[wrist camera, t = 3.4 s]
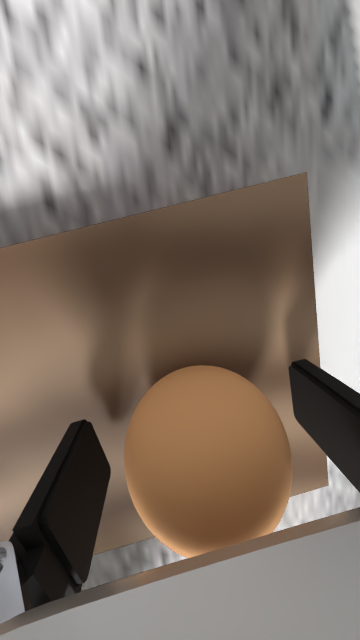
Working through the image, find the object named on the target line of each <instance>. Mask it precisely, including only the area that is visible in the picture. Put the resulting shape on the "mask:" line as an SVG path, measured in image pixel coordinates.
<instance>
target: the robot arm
mask: <svg viewBox="0 0 360 640" xmlns="http://www.w3.org/2000/svg"><path fill="white" fill-rule="evenodd" d="M288 370H289V378H290V387H291V395H292V404H293V413H294V416H295V419H296V420H297V422H298V423H299V424H300V425H301V426H302V428H303V429H304V430H305V431H306V432H307V433H308V434H309V435H310V437H311V438H312V439H313V440H314V441H315V442H316V443H317V445H318V446H319V447H320V448H321V449H322V450H323V451H324V453H325V454H326V455H327V456H328V457H329V458H330V459H331V460H332V462H333V463H334V464H335V465H336V466H337V467H338V468H339V470H340V471H341V472H342V473H343V474H344V475H345V476H346V477H347V479H348V480H349V481H350V482H351V483H352V484H353V485H354V487H355V488H356V489H357V490H358V491H359V492H360V394H359V393H358V392H356V391H355V390H353V389H352V388H350V387H348V386H347V385H345V384H344V383H342V382H341V381H339V380H338V379H336V378H335V377H333V376H331V375H330V374H328V373H327V372H325V371H324V370H322V369H321V368H319V367H318V366H316V365H314V364H313V363H311V362H310V361H308V360H307V359H301V360H297V361H294V362H292V363H291V366H289V368H288ZM110 476H111V468H110V464H109V462H108V460H107V458H106V455H105V453H104V451H103V448H102V446H101V444H100V442H99V439H98V437H97V435H96V432H95V430H94V428H93V425H92V423H91V422H87V420H85V419H83V420H80V421H76V422H73V423H71V424H70V425H69V427H68V429H67V431H66V433H65V434H64V436H63V438H62V440H61V442H60V443H59V445H58V447H57V449H56V451H55V453H54V454H53V456H52V458H51V460H50V462H49V464H48V465H47V467H46V469H45V471H44V473H43V474H42V476H41V478H40V480H39V482H38V484H37V485H36V487H35V489H34V491H33V493H32V495H31V496H30V498H29V500H28V502H27V504H26V506H25V507H24V509H23V511H22V513H21V515H20V516H19V518H18V520H17V522H16V524H15V526H14V527H13V529H12V531H13V534H12V536H11V537H10V539H9V541H1V542H0V640H360V508H356V509H352V510H349V511H345V512H342V513H338V514H335V515H332V516H328V517H325V518H321V519H318V520H315V521H311V522H308V523H304V524H301V525H298V526H294V527H291V528H287V529H284V530H281V531H277V532H274V533H270V534H267V535H264V536H260V537H257V538H254V539H250V540H247V541H244V542H240V543H237V544H234V545H230V546H227V547H224V548H220V549H217V550H214V551H211V552H207V553H204V554H201V555H197V556H194V557H191V558H187V559H184V560H181V561H178V562H174V563H171V564H168V565H165V566H161V567H158V568H155V569H152V570H148V571H145V572H142V573H139V574H135V575H132V576H129V577H126V578H122V579H119V580H116V581H113V582H109V583H106V584H103V585H100V586H97V587H94V588H91V589H88V590H85V591H82V592H80V591H81V587H82V583H85V581H86V580H87V577H88V574H89V569H90V565H91V560H92V556H93V552H94V547H95V543H96V538H97V534H98V529H99V525H100V520H101V516H102V511H103V507H104V502H105V498H106V494H107V489H108V485H109V480H110Z"/></svg>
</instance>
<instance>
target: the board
mask: <svg viewBox="0 0 360 640" xmlns="http://www.w3.org/2000/svg"><path fill="white" fill-rule="evenodd" d="M301 359H307V360H308V361H310V362H311V363H313V364H314V365H316V366H318V367H319V368H320V357H319V343H318V328H317V314H316V300H315V285H314V271H313V257H312V243H311V228H310V214H309V200H308V185H307V172H306V173H302V174H298V175H294V176H290V177H285V178H281V179H277V180H273V181H269V182H265V183H261V184H257V185H253V186H249V187H245V188H241V189H237V190H233V191H229V192H225V193H221V194H217V195H213V196H209V197H205V198H201V199H196V200H192V201H188V202H184V203H180V204H176V205H172V206H168V207H164V208H160V209H156V210H152V211H148V212H144V213H140V214H136V215H132V216H128V217H124V218H120V219H116V220H112V221H108V222H103V223H99V224H95V225H91V226H87V227H83V228H79V229H75V230H71V231H67V232H63V233H59V234H55V235H51V236H47V237H43V238H39V239H35V240H31V241H27V242H23V243H19V244H15V245H10V246H6V247H2V248H0V542H1V541H9V539H10V537H11V536H12V534H13V531H12V529H13V527H14V526H15V524H16V522H17V520H18V518H19V516H20V515H21V513H22V511H23V509H24V507H25V506H26V504H27V502H28V500H29V498H30V496H31V495H32V493H33V491H34V489H35V487H36V485H37V484H38V482H39V480H40V478H41V476H42V474H43V473H44V471H45V469H46V467H47V465H48V464H49V462H50V460H51V458H52V456H53V454H54V453H55V451H56V449H57V447H58V445H59V443H60V442H61V440H62V438H63V436H64V434H65V433H66V431H67V429H68V427H69V425H70V424H71V423H73V422H76V421H80V420H83V419H85V420H87V422H91V423H92V425H93V428H94V430H95V432H96V435H97V437H98V439H99V442H100V444H101V446H102V448H103V451H104V453H105V455H106V458H107V460H108V462H109V464H110V468H111V476H110V480H109V485H108V489H107V494H106V498H105V502H104V507H103V511H102V516H101V520H100V525H99V529H98V534H97V538H96V543H95V547H94V552H93V555H96V554H99V553H102V552H106V551H109V550H112V549H116V548H119V547H123V546H126V545H129V544H133V543H136V542H139V541H143V540H146V539H150V538H153V537H155V536H154V535H153V533H152V532H151V531H150V530H149V529H148V528H147V526H146V525H145V524H144V522H143V521H142V519H141V517H140V516H139V514H138V512H137V510H136V508H135V506H134V504H133V501H132V499H131V496H130V493H129V490H128V486H127V482H126V476H125V469H124V447H125V439H126V434H127V430H128V426H129V423H130V420H131V417H132V415H133V413H134V411H135V409H136V407H137V405H138V403H139V402H140V400H141V399H142V397H143V396H144V395H145V394H146V392H147V391H148V390H149V389H150V388H151V387H152V386H153V385H154V384H155V383H156V382H158V381H159V380H160V379H162V378H163V377H165V376H166V375H168V374H170V373H172V372H174V371H176V370H179V369H182V368H185V367H190V366H198V365H205V366H216V367H221V368H224V369H227V370H230V371H232V372H234V373H237V374H239V375H241V376H242V377H244V378H245V379H247V380H248V381H250V382H251V383H252V384H254V385H255V386H256V387H257V388H258V389H259V390H260V391H261V392H262V393H263V394H264V395H265V396H266V397H267V399H268V400H269V401H270V402H271V404H272V405H273V407H274V408H275V410H276V412H277V413H278V415H279V417H280V419H281V421H282V423H283V426H284V428H285V431H286V434H287V437H288V440H289V445H290V449H291V456H292V485H291V491H290V496H289V497H291V496H295V495H298V494H301V493H305V492H308V491H312V490H315V489H318V488H322V487H325V486H328V471H327V457H326V454H325V453H324V451H323V450H322V449H321V448H320V447H319V446H318V445H317V443H316V442H315V441H314V440H313V439H312V438H311V437H310V435H309V434H308V433H307V432H306V431H305V430H304V429H303V428H302V426H301V425H300V424H299V423H298V422H297V420H296V419H295V416H294V413H293V404H292V395H291V387H290V378H289V370H288V368H289V366H291V363H292V362H294V361H297V360H301Z"/></svg>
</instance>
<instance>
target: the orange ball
mask: <svg viewBox="0 0 360 640" xmlns="http://www.w3.org/2000/svg"><path fill="white" fill-rule="evenodd" d="M124 469H125V476H126V482H127V486H128V490H129V493H130V496H131V499H132V501H133V504H134V506H135V508H136V510H137V512H138V514H139V516H140V517H141V519H142V521H143V522H144V524H145V525H146V526H147V528H148V529H149V530H150V531H151V532H152V533H153V535H154V536H155V537H156V538H157V539H158V540H159V541H160V542H161V543H163V544H164V545H166V546H167V547H168V548H170V549H171V550H173V551H174V552H176V553H178V554H180V555H182V556H184V557H187V558H191V557H194V556H197V555H201V554H204V553H207V552H211V551H214V550H217V549H220V548H224V547H227V546H230V545H234V544H237V543H240V542H244V541H247V540H250V539H254V538H257V537H260V536H264V535H267V534H270V533H272V532H273V531H274V530H275V528H276V527H277V525H278V524H279V522H280V520H281V518H282V516H283V513H284V511H285V509H286V506H287V503H288V500H289V496H290V491H291V485H292V456H291V449H290V445H289V440H288V437H287V434H286V431H285V428H284V426H283V423H282V421H281V419H280V417H279V415H278V413H277V412H276V410H275V408H274V407H273V405H272V404H271V402H270V401H269V400H268V399H267V397H266V396H265V395H264V394H263V393H262V392H261V391H260V390H259V389H258V388H257V387H256V386H255V385H254V384H252V383H251V382H250V381H248V380H247V379H245V378H244V377H242V376H241V375H239V374H237V373H234V372H232V371H230V370H227V369H224V368H221V367H216V366H205V365H198V366H190V367H185V368H182V369H179V370H176V371H174V372H172V373H170V374H168V375H166V376H165V377H163V378H162V379H160V380H159V381H158V382H156V383H155V384H154V385H153V386H152V387H151V388H150V389H149V390H148V391H147V392H146V394H145V395H144V396H143V397H142V399H141V400H140V402H139V403H138V405H137V407H136V409H135V411H134V413H133V415H132V417H131V420H130V423H129V426H128V430H127V434H126V439H125V447H124Z"/></svg>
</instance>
